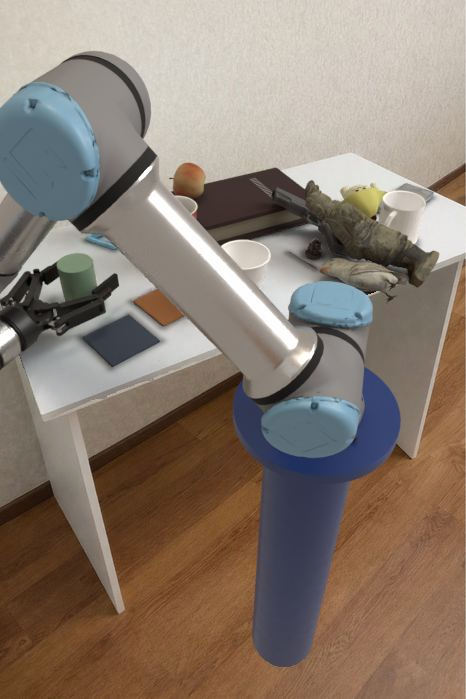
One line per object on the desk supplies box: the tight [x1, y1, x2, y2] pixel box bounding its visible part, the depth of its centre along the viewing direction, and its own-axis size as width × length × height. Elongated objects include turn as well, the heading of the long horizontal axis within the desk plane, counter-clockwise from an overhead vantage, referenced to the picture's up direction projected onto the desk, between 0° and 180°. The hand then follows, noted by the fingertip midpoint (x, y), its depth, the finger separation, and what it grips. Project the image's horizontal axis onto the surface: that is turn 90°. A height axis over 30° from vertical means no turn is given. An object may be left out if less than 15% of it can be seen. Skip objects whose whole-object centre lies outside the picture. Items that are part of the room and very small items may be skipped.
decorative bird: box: [319, 257, 409, 305], centre depth 117 cm, size 5×16×7 cm
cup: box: [221, 239, 272, 291], centre depth 111 cm, size 10×10×11 cm
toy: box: [339, 182, 389, 221], centre depth 137 cm, size 13×7×15 cm
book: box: [170, 167, 310, 246], centre depth 137 cm, size 28×20×6 cm
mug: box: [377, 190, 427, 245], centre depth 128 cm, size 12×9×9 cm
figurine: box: [288, 237, 323, 269], centre depth 125 cm, size 5×8×4 cm
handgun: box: [271, 187, 348, 258], centre depth 127 cm, size 3×19×12 cm
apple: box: [168, 162, 206, 199], centre depth 130 cm, size 8×8×8 cm
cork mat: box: [132, 288, 185, 327], centre depth 114 cm, size 10×10×1 cm
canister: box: [56, 252, 98, 303], centre depth 110 cm, size 6×6×10 cm
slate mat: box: [82, 313, 161, 367], centre depth 106 cm, size 10×10×1 cm
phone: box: [377, 182, 435, 214], centre depth 144 cm, size 8×16×1 cm, turn 140°
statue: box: [304, 179, 440, 288], centre depth 119 cm, size 11×9×30 cm
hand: (92, 270), depth 112 cm, fingers open, 11 cm apart
